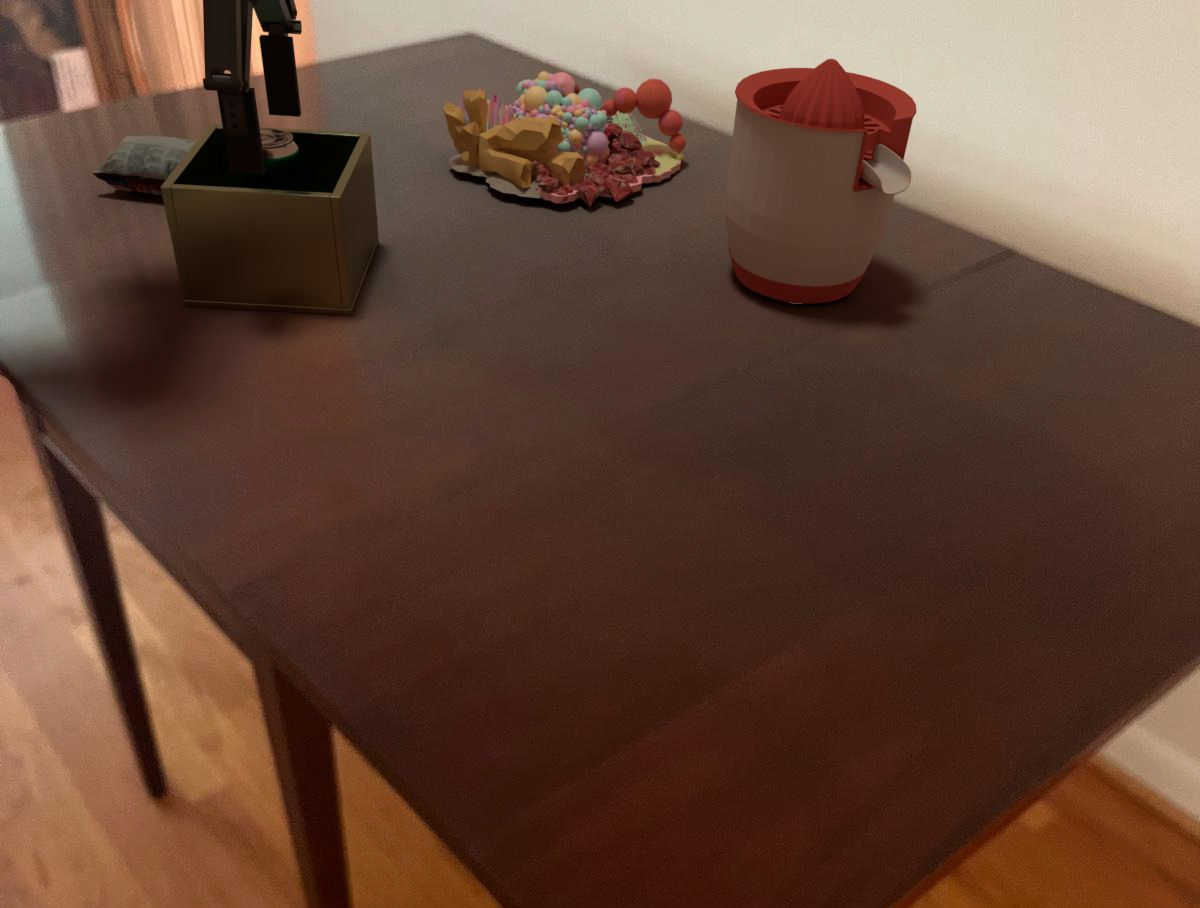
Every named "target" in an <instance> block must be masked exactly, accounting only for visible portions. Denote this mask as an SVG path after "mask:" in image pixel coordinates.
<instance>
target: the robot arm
mask: <svg viewBox="0 0 1200 908" xmlns="http://www.w3.org/2000/svg"><path fill="white" fill-rule="evenodd" d="M254 13H255V15H256V18H257V20H258V22H259V25H260V28H261V31H262V32H263V33H267V34H260V36H259V37H258V38H259V39H258V40H259V46H260V47H259V48H260V54H261V62H262V63H261V64H262V70H263V79H264V85H265V92H266V102H267V108H268V114H269V116H280V117H281V116H282V117H297V118H299V117H301V115H302V108H301V107H302V106H301V98H300V90H299V81H298V80H299V79H298V72H297V71H298V70H297V65H296V64H297V63H296V54H295V45H294V44H295V43H294V37H293V36H290V35H302V32H303V31H302V30H303V24H302V21H301V20H299V19H298V20H297V17H298V9H297V5H296V2H295V0H202V14H203V15H202V17H203V18H202V19H203V20H202V21H203V22H202V23H203V24H202V25H203V54H204V57H203V58H204V78H202V86H203V88H204V91H212V92H213V91H214V92H216V94H217V100H218V106H219V112H220V119H221V125H222V126H223V133H224V139H225V145H226V152H227V158H228V165H229V171H230V173H244V174H260V175H263V174H264V173H265V163H264V156H263V149H262V141H261V134H260V127H261V126H260V119H259V112H258V105H257V99H256V98H257V96H256V91H255V87H251V82H250V77H251V60H252V58H251V56H252V40H253V39H252V37H253V35H252V34H253V18H254V17H253V15H254ZM227 71H228V72H229V73H227Z"/></svg>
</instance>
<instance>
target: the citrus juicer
mask: <svg viewBox="0 0 1200 908" xmlns="http://www.w3.org/2000/svg"><path fill="white" fill-rule="evenodd" d="M734 94H735V98H736V107H735V116H734V123H733V130H732V138H731V146H730V155H729V162H728V171H727V180H726V190H725V205H724V208H725V209H724V211H725V229H726V234H727V240H728V253H729V257H730V261H731V265H732V268H733V271H734V275H735V276H736V279H737V280H738V281H739V282H740V283H741V284H742V285H743V286H744V287H746V288H747V289H749V290H750V291H752V292H754V293H757V294H758V295H760V296H764V297H767V298H768V299H773V300H776V301H781V302H786V303H788V302H793V303H805V304H807V305H808V304H822V303H824V304H825V303H829V302H834V301H837V300H840V299H843V298H844V297H847V296H848V295H850V294H851V293H852V292H853V291H855V288H856V287H857V286H858V284H859V283H860V282H861V280H862V279H863V277H864V276H865V274H866V272H867V271H868V269H869V266H870V262H871V261H872V259H873V258H874V255H875V253H876V252H877V250H878V248H879V245H880V243H881V241H882V238H883V236H884V234H885V231H886V229H887V225H888V222H889V220H890V219H889V218H890V216H891V211H892V208H893V206H894V205H893V204H894V200H895V195H898V194H901V193H903V192H905V191H906V190H908V189H909V187H910V185H911V182H912V170H911V168H910V166H909V165H908V164H907V163H906V161H904V160H905V156H906V152H907V146H908V143H909V142H908V141H909V137H910V133H911V130H912V124H913V120H914V118H915V116H916V115H917V103H916V102H915V100H914V98H913V97H912V96H911V95H910V94H908V93H907V92H906V91H904V90H902V89H901V88H899V87H897V86H895V85H893V84H891V83H889V82H886V81H883V80H880V79H877V78H874V77H871V76H868V75H864V74H858V73H854V72H849V71H846V70H845V68H843V66H842V65H841V63H839V61H838V60H837V59H835V58H828V59H826V60H824V61H823V62H821V63H819V64H818V65H817V66H816V67H785V68H784V67H783V68H774V69H767V70H762V71H759V72H756V73H752V74H750V75H748V76H745V77H744V78H742V79H741V80H740V81H739V82H738V83H737V85H736V87H735V90H734Z"/></svg>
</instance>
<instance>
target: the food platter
mask: <svg viewBox="0 0 1200 908" xmlns="http://www.w3.org/2000/svg"><path fill="white" fill-rule="evenodd" d="M515 91H516V94H517V96H518V97H519V98H518V99H516V100H515V101H514V102H513V104H510V103H508V105H507V102H504V100H502V103H501V92H498V94H497V92H495V94H493V97H492V100H491V99H488V98H487V93H486V89H481V88H478V90H475V89H468V90H462V91H461V93H460V94H459V97H458V98H459V99H458V103H457V105H455V104H454V103H451V102H449V101H446V103H445V104H444V106H443V108H442V110H443V113H444V117H445V120H446V125H447V131H448V133H449V136H450V137H451V139H452V141H453V146H454V147H455V153H457V154H455V155H452V156H451V157H450V159H449V161H448V163H447V164H448V165H449V166H450V167H451V169H452V170H454V171H455V172H459V173H465V174H470V175H472V176H476V177H482V178H483V177H484V178H485V182H486V183H487V184H489V187H490V188H491V189H494V190H496V191H498V192H500V193H503V194H510V195H511V194H512V195H516V196H518V197H523V198H533V199H543V200H544V201H550V202H552V203H553V204H558V205H559V204H566V203H571V202H574V201H576V200H577V199H581V200H582V201H583V202H584V203H586V205H588V207H591V206H592V205H593V204H594V202H595V201H596V199H598V197H602V198H613V200H614V201H615V202H616V203H618V202H620V201H622V200H624V199H626V198H628V197H630V196H633V195H634V193H636V192H640V191H641V190H642V186H643V184H651V183H661V182H662V181H663V180H666V179H670V178H671V175H673V174H675V173H676V172H679V171H680V170H681V164H682V161H683V159H684V158H685V154H684V152H683V151H684V150H685V148H686V146H687V140H686V138H685V136H684V135H683V134H681V133H680V131H682V128H683V125H684V122H683V121H684V120H683V117H682V115H681V114H680V113H679V112H678V111H677V110H676V109H675V110H674V109H671V106H672V103H673V94H672V91H671V89H670V87H669V85H668V84H667V83H666V82H664V81H663V80H662V79H659V78H649V79H647V80H645V81H643V82H642V83H640V85H639V86H638V87H637V89H636V92H635V91H634V90H633V89H632V88H630V87H627V86H626V87H621V88H619V89H617V90H616V92H615V93H614V95H613V99H611V98H609V99H607V100H605V101H604V102H603V98H602V96H601V93H600V92H599V91H598V90H596V89H595V88H592V87H585V88H583V89H582V88H581V87H580V85H578V84H576V83H575V80H574V78H573V76H571V74H569V73H567V72H564V71H559V72H556V73H549V72H548V71H544V70H543V71H540V72H539V73H538V74H537V77H536V78H534V79H533V80H532V79H530V78H529V79H523V80H521V81H520V82H519V83H518V84H517V85H516V87H515ZM635 108H637V111H638V112H639V114H641V115H642V116H643V117H644V118H646V119H650V120H651V119H652V120H657V125H658V126H657V127H658V129H659V131H660V133H662V134H663V135H664V136H667V137H670V138H669V139H668V144H666V143H664V142H661V141H660V140H657V139H653V138H651V137H649V136H647V135H645V134H643V132H642V128H641V126H640V125H639V122H638V121H637V120H636V116H634V115H633V114H632V113H631V112H633V111H634V110H635ZM678 170H679V171H678Z"/></svg>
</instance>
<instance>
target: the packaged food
mask: <svg viewBox="0 0 1200 908" xmlns="http://www.w3.org/2000/svg"><path fill="white" fill-rule="evenodd" d="M196 141H197V140H192V139H188V138H183V137H177V136H176V137H175V136H166V135H165V136H164V135H157V134H146V135H127V136H125V138H124V139H122V141H120V143H119V144H118V146H117V147H116V148H115V149H114V150H113V152H111V154H110V155H109V156H108V158H107V159H105V161H104V162H103V163H102V164H101V165H99V166H97V168H96V169H94V171H93V172H92V173H91V174H92V175H94V176H95V177H96V179H98V180H100V181H104V182H105V183H106V184H107V185H109V186H111V187H112V188H114V189H115V190H118V191H126V192H132V193H133V192H135V193H143V194H152V195H155V196H162V192H161V186H162V185H163V183H164V182H165V181H166V180H167V178H168V177H169V176H170V174H171V173H172V172H173V171H174V169H175V168H176V167H177V165H178V164H179V163H180V162H181V160H182V159H183V158H184V156H185V155H186V154H187V153H188V151H189V150H190V149H191V147H192V146H193V145H194V144H195V142H196Z"/></svg>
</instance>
